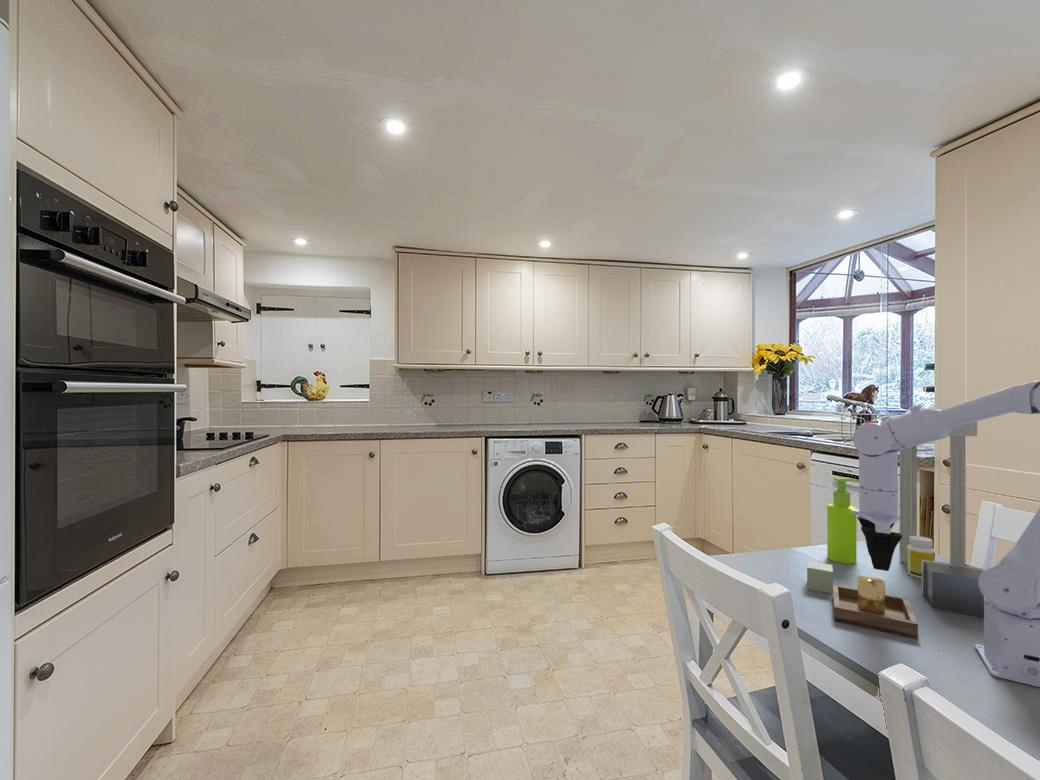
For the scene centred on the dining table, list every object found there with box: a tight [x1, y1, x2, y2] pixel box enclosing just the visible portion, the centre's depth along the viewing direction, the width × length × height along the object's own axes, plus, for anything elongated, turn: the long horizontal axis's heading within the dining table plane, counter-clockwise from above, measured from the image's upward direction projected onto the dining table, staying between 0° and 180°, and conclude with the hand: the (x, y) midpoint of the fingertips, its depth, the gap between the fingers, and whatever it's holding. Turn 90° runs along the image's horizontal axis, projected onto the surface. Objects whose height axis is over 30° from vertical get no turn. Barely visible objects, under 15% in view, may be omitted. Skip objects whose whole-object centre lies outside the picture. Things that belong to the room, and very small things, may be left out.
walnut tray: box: [832, 584, 919, 640], centre depth 86 cm, size 12×12×2 cm
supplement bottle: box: [906, 535, 936, 580], centre depth 105 cm, size 5×5×8 cm
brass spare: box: [857, 575, 886, 616], centre depth 86 cm, size 4×4×6 cm
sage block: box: [806, 560, 834, 594], centre depth 99 cm, size 4×4×4 cm
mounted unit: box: [921, 560, 985, 619], centre depth 90 cm, size 8×9×7 cm
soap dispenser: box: [826, 476, 859, 565], centre depth 115 cm, size 6×7×20 cm
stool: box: [890, 415, 978, 566], centre depth 114 cm, size 16×16×35 cm
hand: (878, 562), depth 86 cm, fingers open, 7 cm apart
